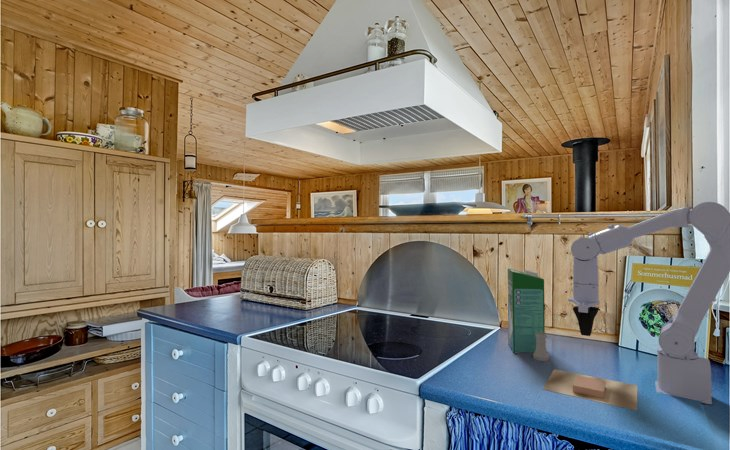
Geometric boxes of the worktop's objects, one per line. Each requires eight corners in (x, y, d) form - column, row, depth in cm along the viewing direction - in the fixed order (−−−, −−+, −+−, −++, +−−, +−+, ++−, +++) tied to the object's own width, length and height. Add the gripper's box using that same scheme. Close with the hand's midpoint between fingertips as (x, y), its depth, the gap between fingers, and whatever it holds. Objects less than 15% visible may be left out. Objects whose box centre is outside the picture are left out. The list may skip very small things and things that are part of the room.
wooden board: (637, 387, 90) (637, 385, 90) (637, 413, 78) (637, 410, 78) (554, 371, 101) (554, 369, 101) (542, 391, 88) (542, 389, 88)
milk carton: (545, 354, 114) (544, 271, 114) (513, 353, 115) (512, 271, 116) (537, 345, 122) (536, 268, 123) (508, 344, 124) (507, 267, 124)
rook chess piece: (529, 359, 110) (528, 331, 110) (541, 357, 112) (540, 329, 112) (541, 364, 106) (541, 335, 106) (553, 362, 108) (553, 333, 108)
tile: (605, 380, 89) (603, 391, 83) (605, 387, 89) (603, 398, 83) (576, 375, 92) (572, 385, 87) (576, 381, 92) (572, 392, 87)
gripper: (571, 278, 108) (571, 326, 108) (564, 285, 96) (565, 339, 96) (600, 280, 104) (601, 330, 104) (597, 288, 92) (597, 344, 92)
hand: (585, 335), depth 99 cm, fingers closed
